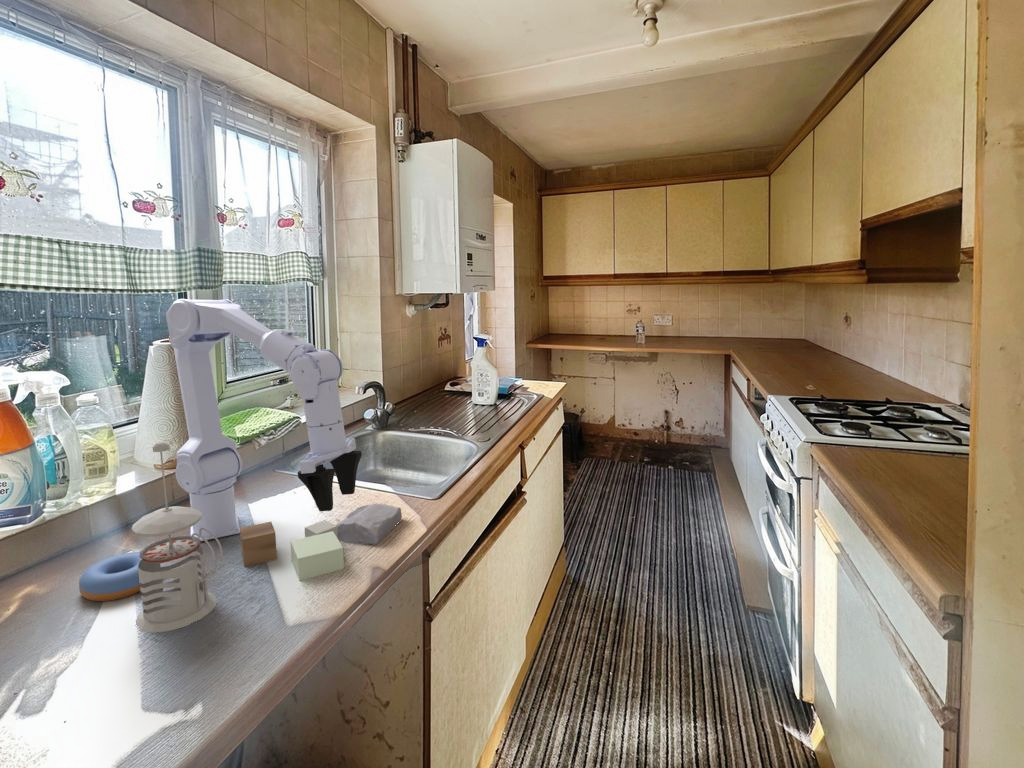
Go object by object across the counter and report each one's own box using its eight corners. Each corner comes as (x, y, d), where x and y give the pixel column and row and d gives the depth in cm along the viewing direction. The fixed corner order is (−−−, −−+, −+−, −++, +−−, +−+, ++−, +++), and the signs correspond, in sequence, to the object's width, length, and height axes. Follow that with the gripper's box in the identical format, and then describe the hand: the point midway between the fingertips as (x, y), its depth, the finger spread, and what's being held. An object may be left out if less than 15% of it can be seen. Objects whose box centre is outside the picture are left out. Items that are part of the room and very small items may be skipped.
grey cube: (305, 548, 90) (304, 527, 90) (325, 540, 93) (324, 519, 93) (317, 555, 88) (316, 533, 87) (338, 546, 91) (337, 526, 90)
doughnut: (143, 599, 74) (140, 569, 73) (64, 611, 71) (60, 580, 71) (172, 570, 83) (169, 544, 83) (103, 580, 81) (100, 553, 81)
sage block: (291, 562, 86) (290, 540, 85) (333, 552, 89) (332, 531, 89) (299, 582, 80) (297, 558, 79) (344, 569, 83) (343, 547, 83)
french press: (168, 589, 77) (151, 431, 72) (242, 592, 76) (230, 433, 72) (116, 631, 67) (93, 451, 63) (201, 634, 67) (184, 454, 62)
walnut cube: (241, 554, 88) (239, 527, 87) (273, 547, 90) (271, 521, 89) (244, 567, 83) (242, 539, 83) (277, 559, 86) (275, 532, 85)
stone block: (331, 551, 93) (380, 546, 91) (326, 526, 93) (375, 521, 90) (362, 525, 105) (406, 521, 102) (358, 503, 104) (402, 499, 102)
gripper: (324, 431, 75) (338, 517, 77) (366, 413, 89) (377, 486, 91) (282, 434, 76) (296, 519, 78) (330, 416, 91) (341, 488, 92)
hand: (337, 501), depth 85 cm, fingers open, 7 cm apart
